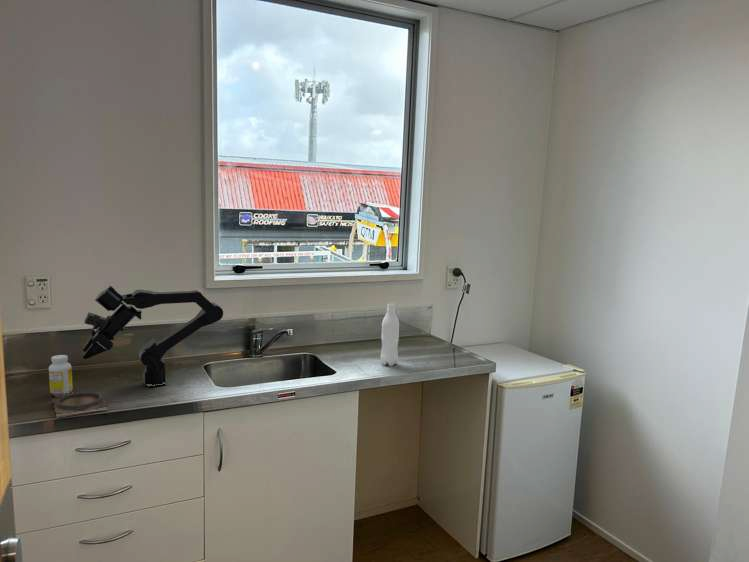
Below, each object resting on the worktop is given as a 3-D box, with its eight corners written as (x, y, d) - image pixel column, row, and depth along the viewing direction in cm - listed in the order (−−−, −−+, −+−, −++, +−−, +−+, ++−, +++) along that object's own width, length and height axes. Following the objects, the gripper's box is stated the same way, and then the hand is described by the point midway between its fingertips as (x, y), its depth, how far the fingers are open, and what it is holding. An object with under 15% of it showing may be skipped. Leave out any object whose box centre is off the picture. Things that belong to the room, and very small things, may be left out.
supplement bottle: (67, 389, 197) (65, 352, 195) (76, 394, 193) (74, 356, 191) (46, 394, 192) (44, 356, 190) (55, 399, 188) (53, 360, 186)
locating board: (101, 396, 192) (101, 388, 191) (107, 410, 180) (107, 402, 179) (52, 403, 184) (52, 395, 184) (56, 418, 172) (55, 409, 172)
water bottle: (391, 367, 233) (393, 306, 230) (376, 364, 238) (378, 304, 234) (401, 364, 239) (403, 304, 235) (387, 360, 243) (389, 301, 240)
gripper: (99, 299, 202) (64, 332, 199) (100, 309, 185) (62, 346, 182) (124, 320, 206) (91, 353, 203) (128, 332, 190) (91, 368, 187)
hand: (83, 354), depth 194 cm, fingers open, 9 cm apart
